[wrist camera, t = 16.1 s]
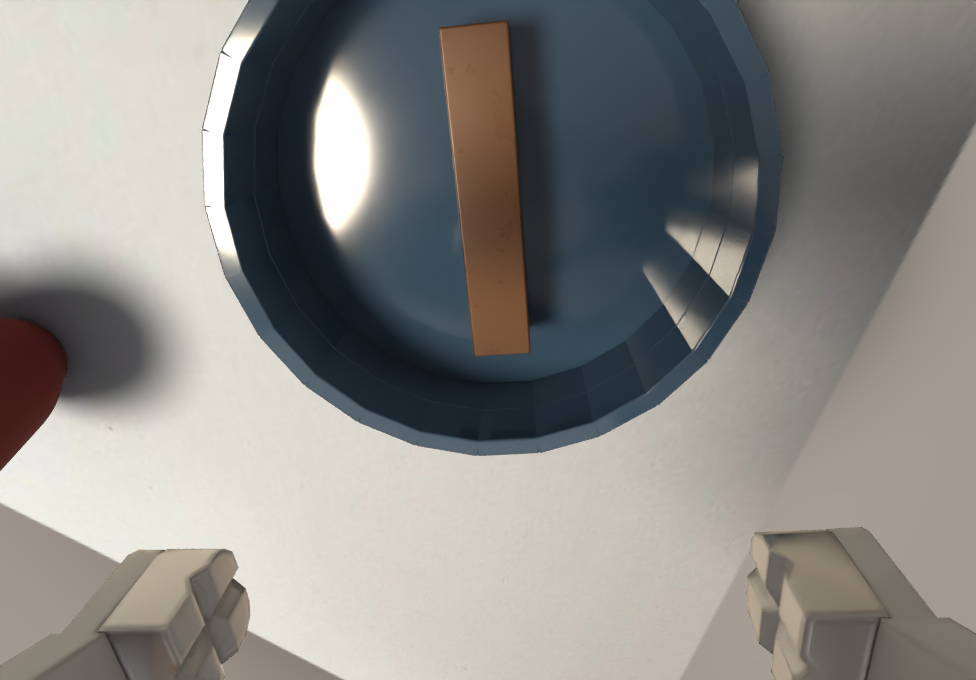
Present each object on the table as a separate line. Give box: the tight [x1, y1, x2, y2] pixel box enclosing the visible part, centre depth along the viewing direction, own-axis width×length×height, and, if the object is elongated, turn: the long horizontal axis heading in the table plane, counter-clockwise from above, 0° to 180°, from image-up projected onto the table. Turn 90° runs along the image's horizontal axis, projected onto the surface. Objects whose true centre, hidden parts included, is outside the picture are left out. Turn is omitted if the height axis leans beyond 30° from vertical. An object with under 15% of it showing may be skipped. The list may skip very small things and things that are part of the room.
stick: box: [439, 20, 530, 356], centre depth 25 cm, size 13×2×3 cm, turn 5°
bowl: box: [202, 0, 783, 456], centre depth 24 cm, size 21×21×6 cm
